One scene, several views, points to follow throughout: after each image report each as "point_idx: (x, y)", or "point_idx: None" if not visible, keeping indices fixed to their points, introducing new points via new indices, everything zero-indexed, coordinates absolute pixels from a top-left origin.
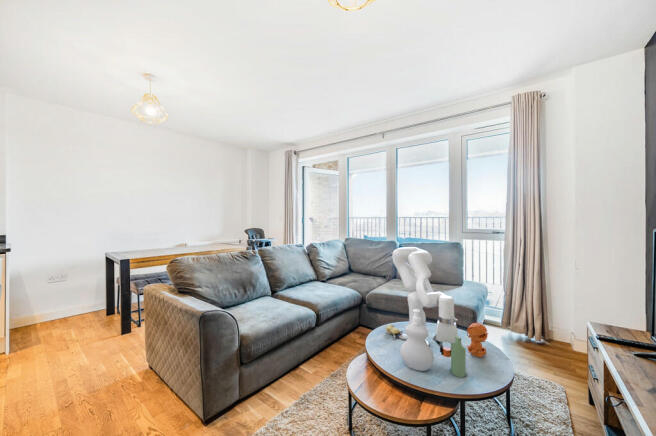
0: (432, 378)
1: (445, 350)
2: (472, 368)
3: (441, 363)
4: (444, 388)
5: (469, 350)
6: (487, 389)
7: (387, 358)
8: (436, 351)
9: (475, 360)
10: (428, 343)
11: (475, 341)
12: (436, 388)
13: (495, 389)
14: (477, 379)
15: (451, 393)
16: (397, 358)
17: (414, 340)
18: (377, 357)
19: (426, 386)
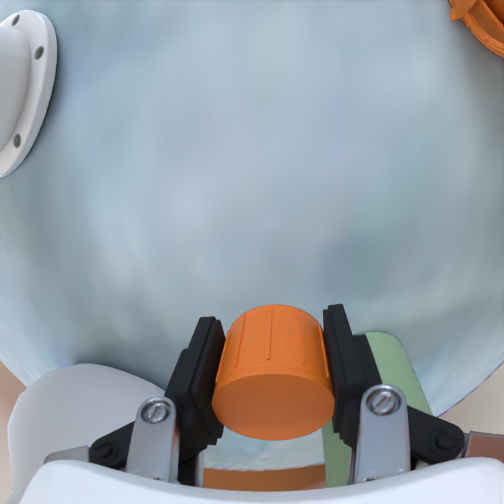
0: (227, 439)
1: (261, 435)
2: (464, 256)
3: (231, 308)
4: (287, 460)
5: (467, 10)
6: (457, 395)
7: (18, 357)
8: (133, 98)
9: (490, 108)
10: (48, 41)
11: None
12: (259, 465)
13: (485, 377)
14: (450, 359)
15: (313, 465)
16: (31, 347)
17: None
18: (4, 359)
19: (223, 465)
